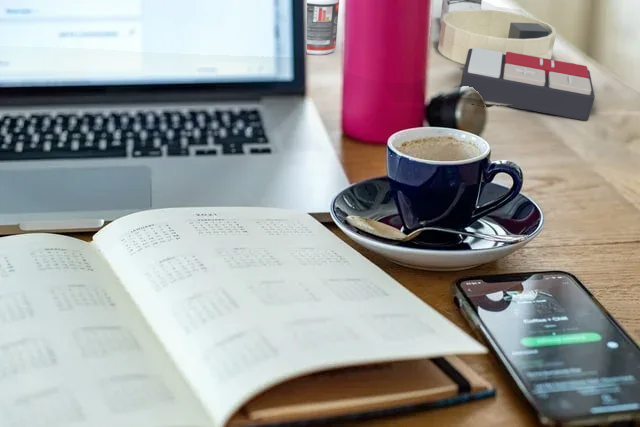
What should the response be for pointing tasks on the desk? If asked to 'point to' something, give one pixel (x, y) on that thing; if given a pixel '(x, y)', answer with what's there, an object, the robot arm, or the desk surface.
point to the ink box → (459, 6)
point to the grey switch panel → (530, 82)
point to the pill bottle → (322, 26)
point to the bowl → (489, 34)
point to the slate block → (526, 31)
